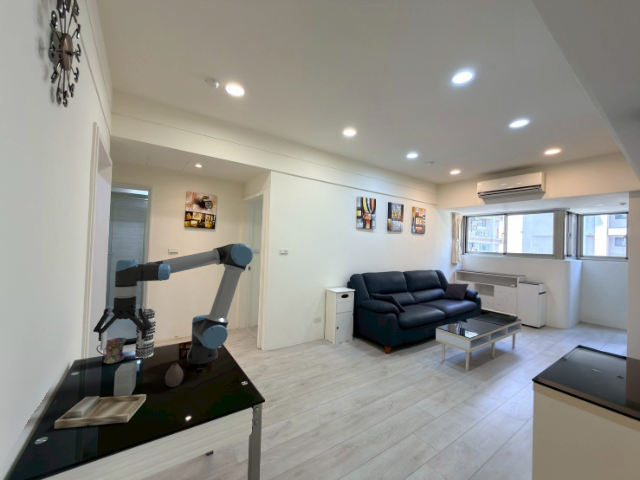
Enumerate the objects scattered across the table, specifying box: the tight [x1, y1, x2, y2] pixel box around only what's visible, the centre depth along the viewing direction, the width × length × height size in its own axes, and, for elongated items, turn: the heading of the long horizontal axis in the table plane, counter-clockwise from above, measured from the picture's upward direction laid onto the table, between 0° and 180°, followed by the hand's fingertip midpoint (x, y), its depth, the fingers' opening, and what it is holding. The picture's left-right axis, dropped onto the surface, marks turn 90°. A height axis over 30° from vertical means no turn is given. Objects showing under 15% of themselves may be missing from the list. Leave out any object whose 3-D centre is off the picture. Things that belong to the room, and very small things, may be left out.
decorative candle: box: [134, 308, 157, 359], centre depth 140 cm, size 9×9×25 cm
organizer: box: [54, 393, 147, 429], centre depth 91 cm, size 21×13×4 cm, turn 101°
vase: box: [164, 362, 184, 388], centre depth 111 cm, size 7×7×9 cm
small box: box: [113, 362, 138, 397], centre depth 104 cm, size 8×6×10 cm
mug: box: [96, 337, 127, 365], centre depth 132 cm, size 12×9×11 cm
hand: (122, 347), depth 105 cm, fingers open, 13 cm apart
